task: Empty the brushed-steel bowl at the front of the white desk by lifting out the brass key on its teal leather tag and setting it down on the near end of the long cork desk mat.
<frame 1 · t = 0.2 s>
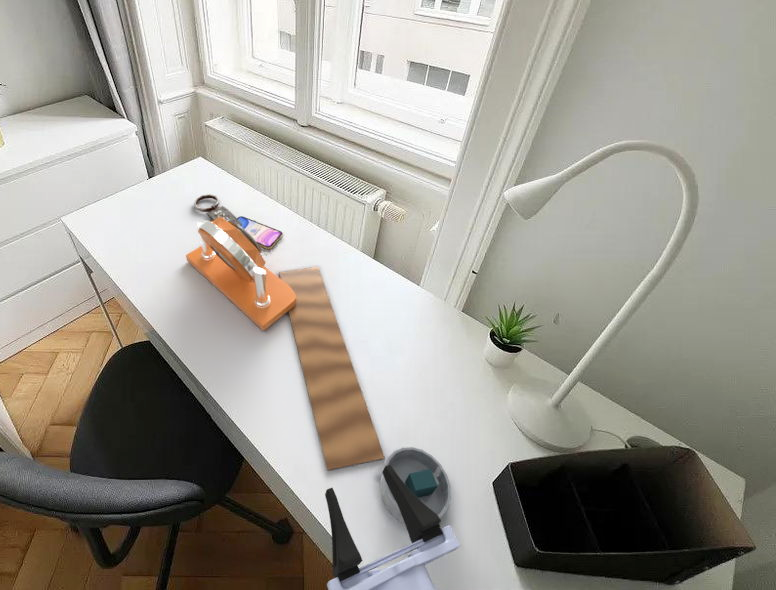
hand: (357, 479, 48), 21 cm above the table, tool horizontal, fingers open, 7 cm apart
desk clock: (240, 281, 100), on the table, touching mat
smartphone: (254, 233, 114), on the table, touching keychain
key: (418, 488, 65), resting on bowl
mat: (321, 348, 86), on the table
keychain: (216, 215, 121), on the table, touching smartphone
bowl: (411, 490, 65), on the table
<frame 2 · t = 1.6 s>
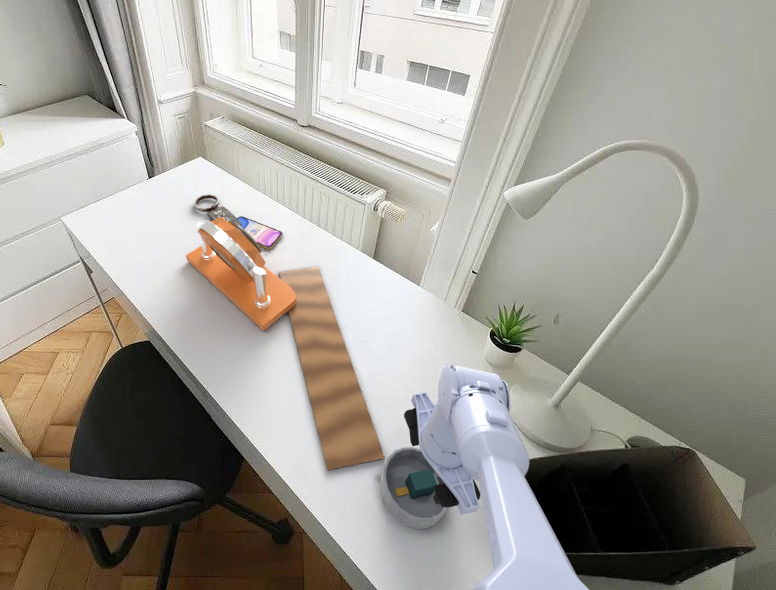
hand: (428, 470, 60), 8 cm above the table, tool pointing down, fingers open, 7 cm apart
nothing on the table moved.
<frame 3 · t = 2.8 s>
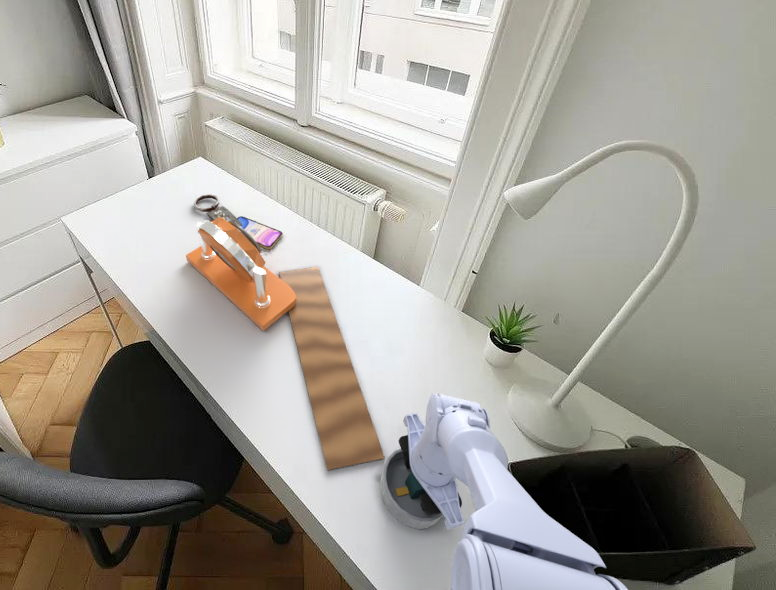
hand: (419, 485, 65), 2 cm above the table, tool pointing down, fingers closed on bowl, 5 cm apart
nothing on the table moved.
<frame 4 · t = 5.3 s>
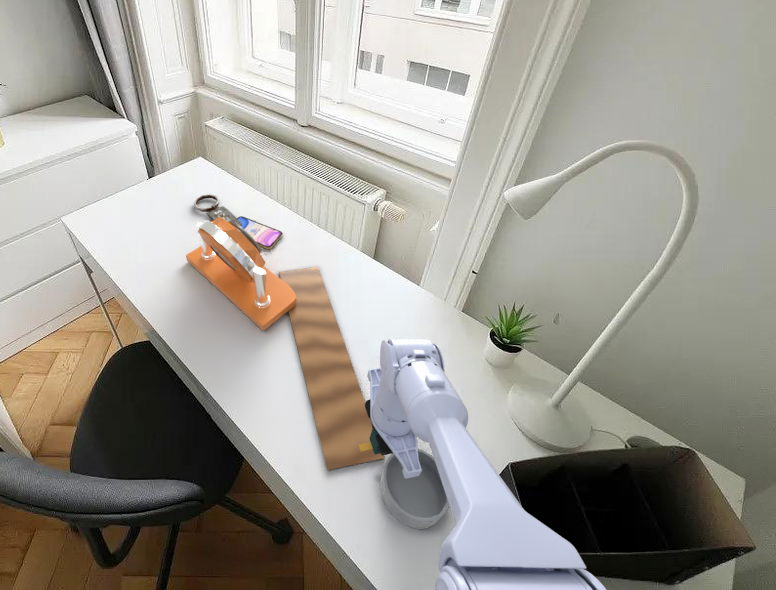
hand: (383, 442, 63), 8 cm above the table, tool pointing down, fingers closed on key, 2 cm apart
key: (382, 444, 64), point 8 cm above the table, touching gripper
everything else where it was.
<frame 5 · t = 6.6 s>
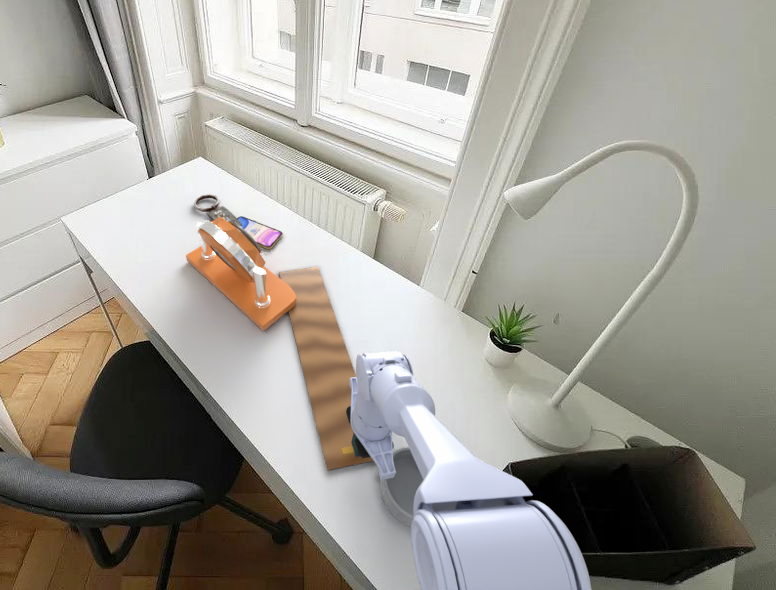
hand: (364, 445, 68), 3 cm above the table, tool pointing down, fingers closed on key, 2 cm apart
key: (363, 447, 68), point 2 cm above the table, touching gripper
everything else where it was.
when the fingers open (1 cm above the table, at t = 7.5 s): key stays where it is, resting on mat.
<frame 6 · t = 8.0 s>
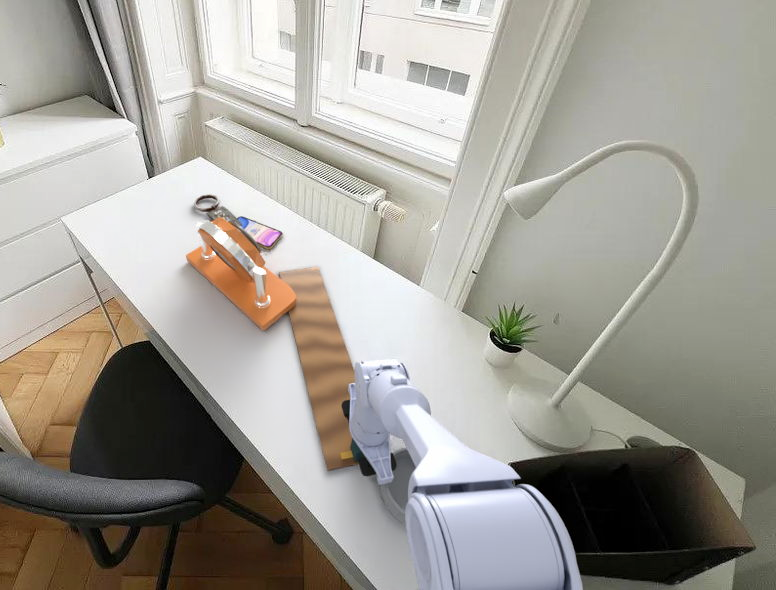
hand: (362, 450, 69), 1 cm above the table, tool pointing down, fingers open, 6 cm apart
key: (362, 452, 70), resting on mat
everything else where it was.
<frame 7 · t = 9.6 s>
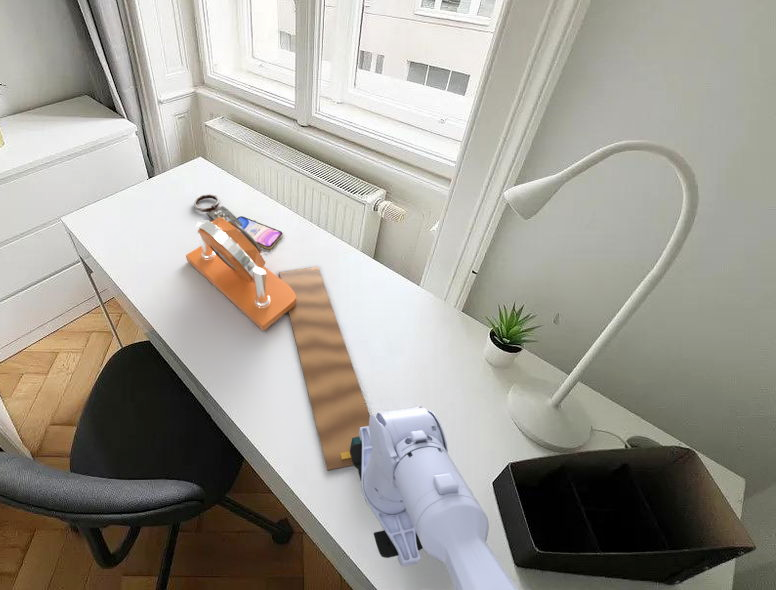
hand: (377, 509, 56), 9 cm above the table, tool pointing down, fingers open, 7 cm apart
nothing on the table moved.
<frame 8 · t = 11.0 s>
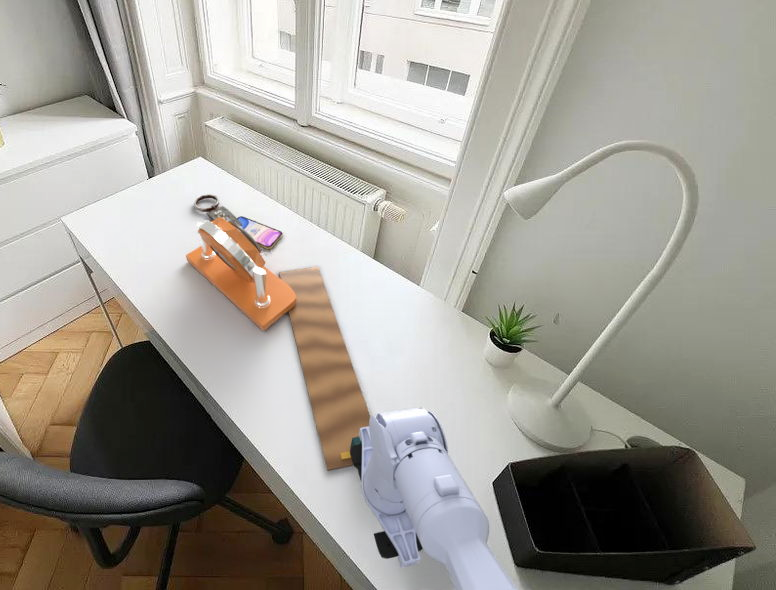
hand: (377, 509, 56), 9 cm above the table, tool pointing down, fingers open, 7 cm apart
nothing on the table moved.
at the end: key 0.1 cm from the target spot on the mat, point 0.4 cm above the mat's base; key touching mat; the gripper is holding nothing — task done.
